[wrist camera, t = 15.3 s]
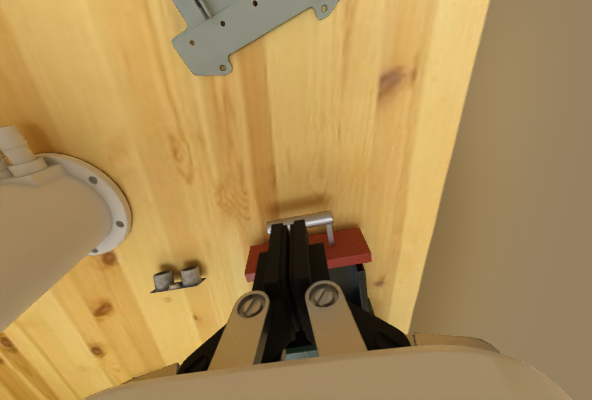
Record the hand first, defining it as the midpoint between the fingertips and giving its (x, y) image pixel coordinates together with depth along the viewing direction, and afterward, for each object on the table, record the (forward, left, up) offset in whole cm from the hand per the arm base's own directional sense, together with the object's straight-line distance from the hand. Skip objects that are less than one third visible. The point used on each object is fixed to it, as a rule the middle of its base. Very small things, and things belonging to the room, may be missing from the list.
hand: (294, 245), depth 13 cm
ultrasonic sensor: (+13, -17, -16) cm, 27 cm away
